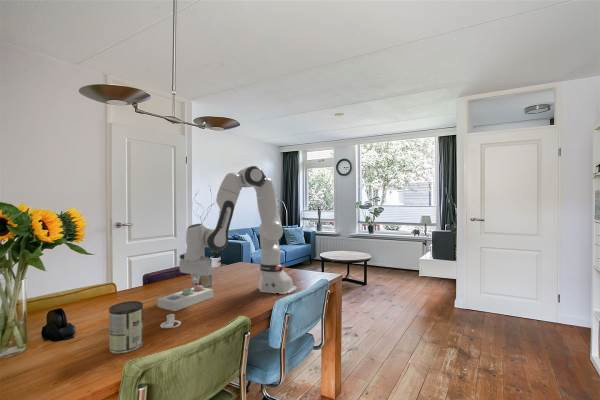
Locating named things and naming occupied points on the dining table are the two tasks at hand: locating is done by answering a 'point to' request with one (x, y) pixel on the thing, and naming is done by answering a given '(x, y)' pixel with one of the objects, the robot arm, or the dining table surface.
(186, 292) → the sage button
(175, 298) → the blue button
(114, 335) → the coffee can
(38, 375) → the dining table surface
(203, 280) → the coffee box
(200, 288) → the terracotta button
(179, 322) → the teacup and saucer
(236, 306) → the dining table surface
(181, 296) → the button panel
